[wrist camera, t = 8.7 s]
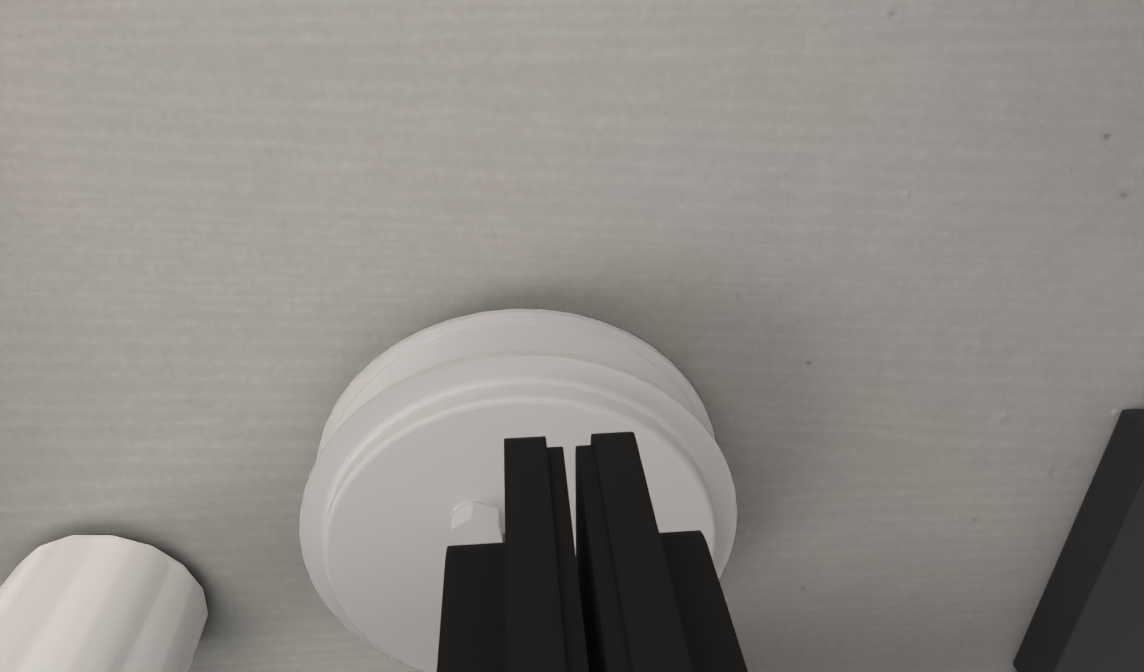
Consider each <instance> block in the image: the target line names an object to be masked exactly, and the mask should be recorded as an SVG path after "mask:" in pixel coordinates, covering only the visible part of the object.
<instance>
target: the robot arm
mask: <svg viewBox="0 0 1144 672" xmlns="http://www.w3.org/2000/svg"><path fill="white" fill-rule="evenodd" d="M504 486H505V542H502V543H486V544H470V545H454V546H447V550H446V557H445V569H444V582H443V595H442V608H441V621H440V634H439V647H438V660H437V672H748V671H747V668H746V665H745V662H744V659H743V655H742V652H741V649H740V646H739V643H738V640H737V636H736V633H735V630H734V627H733V624H732V620H731V617H730V614H729V611H728V608H727V605H726V601H725V598H724V595H723V592H722V589H721V586H720V582H719V579H718V576H717V573H716V570H715V567H714V563H713V560H712V557H711V554H710V551H709V548H708V544H707V542H706V539H705V537H704V535H703V533H702V532H701V531H700V530H696V531H680V532H664V533H659V530H658V526H657V522H656V518H655V514H654V510H653V506H652V502H651V498H650V494H649V490H648V486H647V482H646V478H645V474H644V470H643V466H642V461H641V457H640V453H639V449H638V445H637V441H636V437H635V434H634V432H615V433H596V434H591V443H590V445H582V446H576V449H575V486H576V555H575V546H574V537H573V529H572V520H571V511H570V503H569V494H568V486H567V477H566V468H565V460H564V451H563V447H547V444H546V436H540V437H521V438H504Z"/></svg>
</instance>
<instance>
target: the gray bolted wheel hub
mask: <svg viewBox="0 0 1144 672" xmlns="http://www.w3.org/2000/svg"><path fill="white" fill-rule="evenodd" d="M615 432H634V434H635V437H636V441H637V445H638V449H639V453H640V457H641V461H642V466H643V470H644V474H645V478H646V482H647V486H648V490H649V494H650V498H651V502H652V506H653V510H654V514H655V518H656V522H657V526H658V530H659V533H664V532H680V531H696V530H700V531H701V532H702V533H703V535H704V537H705V539H706V542H707V544H708V548H709V551H710V554H711V557H712V560H713V563H714V567H715V570H716V573H717V576H718V579H719V578H720V577H721V575H722V572H723V570H724V568H725V566H726V563H727V561H728V559H729V557H730V554H731V550H732V546H733V542H734V538H735V534H736V523H737V503H736V493H735V487H734V484H733V480H732V477H731V474H730V470H729V467H728V465H727V462H726V460H725V458H724V455H723V453H722V451H721V449H720V447H719V445H718V444H717V442H716V440H715V435H714V431H713V427H712V424H711V422H710V419H709V417H708V414H707V412H706V409H705V407H704V405H703V402H702V401H701V399H700V398H699V396H698V394H697V393H696V391H695V390H694V388H693V386H692V385H691V383H690V382H689V381H688V380H687V379H686V377H685V376H684V375H683V374H682V373H681V372H680V371H679V370H678V368H677V367H676V366H675V365H674V364H673V363H672V362H671V361H669V360H668V359H667V358H666V357H665V356H663V355H662V354H661V353H660V352H658V351H657V350H656V349H655V348H654V347H652V346H650V345H649V344H647V343H645V342H644V341H642V340H640V339H639V338H637V337H635V336H634V335H632V334H630V333H628V332H626V331H624V330H621V329H619V328H617V327H614V326H612V325H610V324H607V323H605V322H602V321H599V320H595V319H592V318H588V317H584V316H581V315H577V314H573V313H566V312H559V311H552V310H545V309H505V310H496V311H486V312H479V313H475V314H470V315H466V316H462V317H458V318H453V319H450V320H447V321H444V322H441V323H439V324H436V325H433V326H431V327H428V328H425V329H423V330H421V331H419V332H417V333H415V334H413V335H411V336H409V337H407V338H406V339H404V340H402V341H400V342H398V343H396V344H395V345H393V346H392V347H390V348H389V349H388V350H386V351H385V352H384V353H382V354H381V355H379V356H378V357H377V358H375V359H374V360H373V361H371V362H370V363H369V364H368V365H367V366H366V367H365V368H364V369H363V370H362V371H361V372H360V373H359V374H358V375H357V376H356V377H355V378H354V379H353V380H352V382H351V383H350V384H349V386H348V387H347V388H346V390H345V391H344V392H343V394H342V395H341V396H340V398H339V399H338V401H337V402H336V404H335V406H334V408H333V410H332V412H331V414H330V416H329V418H328V420H327V422H326V425H325V428H324V432H323V435H322V438H321V441H320V445H319V448H318V455H317V461H316V463H315V465H314V467H313V468H312V470H311V473H310V476H309V478H308V481H307V484H306V487H305V490H304V495H303V500H302V505H301V510H300V534H299V538H300V544H301V549H302V554H303V560H304V563H305V566H306V568H307V571H308V573H309V576H310V579H311V581H312V583H313V585H314V587H315V588H316V590H317V592H318V593H319V595H320V597H321V598H322V600H323V602H324V603H325V604H326V606H327V607H328V608H329V609H330V610H331V612H332V613H333V614H334V615H335V616H336V617H337V619H338V620H339V621H340V622H341V623H342V624H343V625H345V626H346V627H347V628H348V629H349V630H350V631H351V632H352V633H354V634H355V635H356V636H357V637H358V638H360V639H361V640H363V641H364V642H366V643H367V644H368V645H370V646H371V647H373V648H374V649H376V650H377V651H379V652H381V653H383V654H385V655H387V656H389V657H391V658H393V659H395V660H397V661H398V662H400V663H403V664H406V665H408V666H410V667H412V668H414V669H417V670H419V671H422V672H437V660H438V647H439V634H440V621H441V608H442V595H443V582H444V569H445V557H446V550H447V546H454V545H470V544H486V543H502V542H505V486H504V438H521V437H540V436H546V444H547V447H563V451H564V460H565V468H566V477H567V486H568V494H569V503H570V511H571V520H572V529H573V537H574V546H575V555H576V486H575V449H576V446H582V445H590V443H591V434H596V433H615Z"/></svg>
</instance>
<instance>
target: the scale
mask: <svg viewBox="0 0 1144 672" xmlns="http://www.w3.org/2000/svg"><path fill="white" fill-rule="evenodd" d="M1013 665H1014V667H1015V668H1016V670H1017V672H1144V409H1135V410H1123V411H1122V413H1121V416H1120V418H1119V420H1118V423H1117V425H1116V427H1115V430H1114V432H1113V434H1112V437H1111V439H1110V441H1109V443H1108V446H1107V448H1106V450H1105V453H1104V455H1103V457H1102V460H1101V462H1100V464H1099V467H1098V469H1097V471H1096V474H1095V476H1094V478H1093V481H1092V483H1091V485H1090V488H1089V490H1088V492H1087V495H1086V497H1085V499H1084V502H1083V504H1082V506H1081V508H1080V511H1079V513H1078V515H1077V518H1076V520H1075V522H1074V525H1073V527H1072V529H1071V532H1070V534H1069V536H1068V539H1067V541H1066V543H1065V546H1064V548H1063V550H1062V553H1061V555H1060V557H1059V560H1058V562H1057V564H1056V566H1055V569H1054V571H1053V573H1052V576H1051V578H1050V580H1049V583H1048V585H1047V587H1046V590H1045V592H1044V594H1043V597H1042V599H1041V601H1040V604H1039V606H1038V608H1037V611H1036V613H1035V615H1034V618H1033V620H1032V622H1031V624H1030V627H1029V629H1028V631H1027V634H1026V636H1025V638H1024V641H1023V643H1022V645H1021V648H1020V650H1019V652H1018V655H1017V657H1016V659H1015V662H1014V664H1013Z"/></svg>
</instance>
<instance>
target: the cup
mask: <svg viewBox="0 0 1144 672" xmlns="http://www.w3.org/2000/svg"><path fill="white" fill-rule="evenodd" d="M207 617H208V611H207V606H206V601H205V596H204V591H203V588H202V587H201V586H200V584H199V583H198V582H197V581H196V580H195V578H194V577H193V576H192V575H191V574H190V572H189V571H188V570H187V569H186V568H185V566H184V565H183V564H181V563H179V562H178V561H176V560H174V559H173V558H171V557H170V556H168V555H166V554H165V553H163V552H161V551H160V550H158V549H156V548H155V547H153V546H151V545H148V544H144V543H140V542H136V541H133V540H129V539H125V538H121V537H117V536H114V535H71V536H68V537H65V538H62V539H59V540H56V541H53V542H50V543H47V544H44V545H41V546H39V547H37V548H36V549H35V550H34V551H33V552H32V553H31V554H29V555H28V556H27V557H26V558H25V559H24V560H23V561H22V562H21V563H20V564H19V565H17V567H16V568H15V569H14V571H13V572H12V573H11V574H10V576H9V577H8V578H7V579H6V581H5V582H4V583H3V585H2V586H1V587H0V672H189V670H190V667H191V664H192V661H193V658H194V655H195V652H196V649H197V646H198V643H199V640H200V637H201V634H202V631H203V628H204V625H205V622H206V620H207Z"/></svg>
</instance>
